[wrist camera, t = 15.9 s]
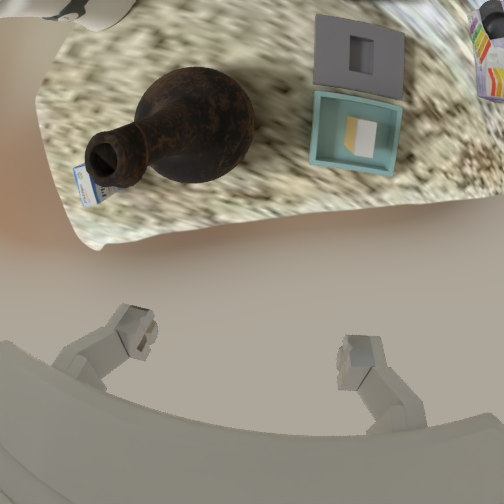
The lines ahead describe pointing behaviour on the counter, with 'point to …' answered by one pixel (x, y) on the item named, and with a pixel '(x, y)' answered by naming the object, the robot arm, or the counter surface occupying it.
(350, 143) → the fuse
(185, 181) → the dark brown vase
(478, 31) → the cake pan box
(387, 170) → the parts tray
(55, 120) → the counter surface
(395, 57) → the socket block
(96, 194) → the medicine box
